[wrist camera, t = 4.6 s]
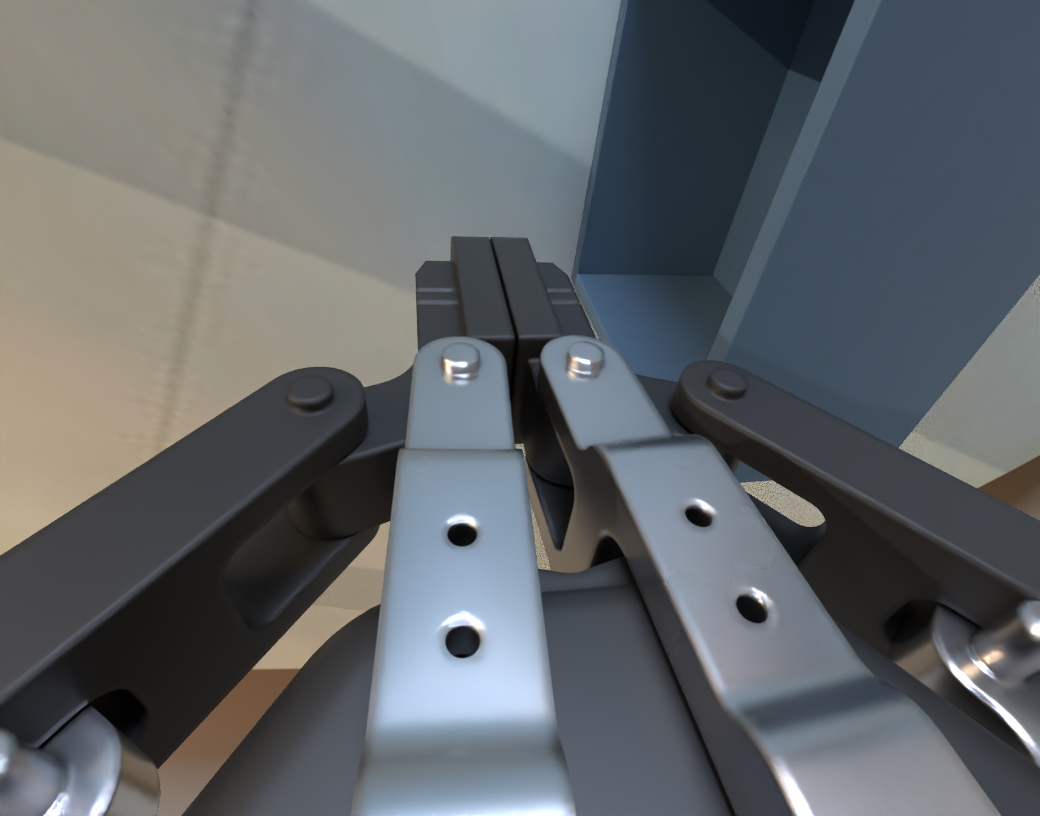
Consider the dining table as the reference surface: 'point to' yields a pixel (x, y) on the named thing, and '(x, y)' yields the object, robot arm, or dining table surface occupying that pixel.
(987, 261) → the blue open box
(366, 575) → the dining table surface
